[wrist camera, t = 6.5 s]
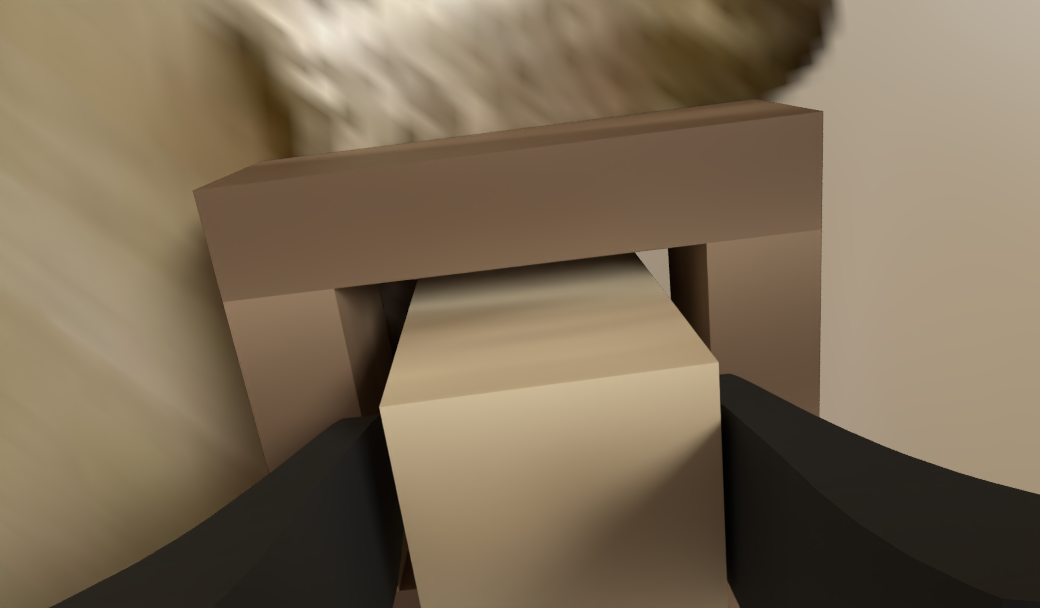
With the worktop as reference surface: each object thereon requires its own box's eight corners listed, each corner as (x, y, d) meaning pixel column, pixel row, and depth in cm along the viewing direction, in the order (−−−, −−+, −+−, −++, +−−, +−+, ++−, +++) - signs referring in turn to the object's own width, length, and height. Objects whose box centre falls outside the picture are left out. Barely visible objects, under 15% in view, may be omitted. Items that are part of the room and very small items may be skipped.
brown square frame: (761, 522, 16) (816, 623, 13) (356, 567, 16) (324, 676, 13) (754, 98, 13) (822, 111, 10) (260, 161, 13) (192, 190, 10)
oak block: (639, 421, 15) (728, 632, 10) (452, 445, 15) (434, 671, 10) (624, 239, 14) (718, 362, 8) (421, 266, 14) (379, 407, 8)
